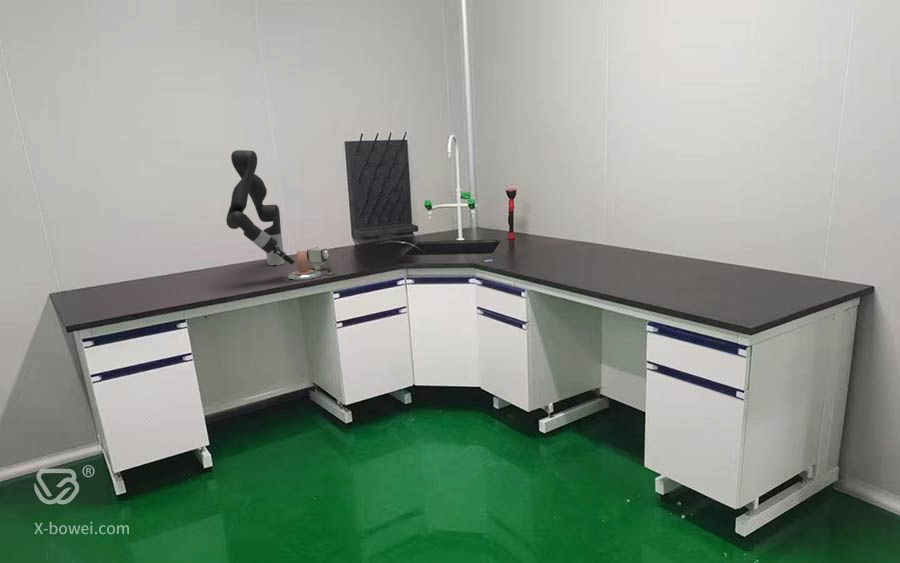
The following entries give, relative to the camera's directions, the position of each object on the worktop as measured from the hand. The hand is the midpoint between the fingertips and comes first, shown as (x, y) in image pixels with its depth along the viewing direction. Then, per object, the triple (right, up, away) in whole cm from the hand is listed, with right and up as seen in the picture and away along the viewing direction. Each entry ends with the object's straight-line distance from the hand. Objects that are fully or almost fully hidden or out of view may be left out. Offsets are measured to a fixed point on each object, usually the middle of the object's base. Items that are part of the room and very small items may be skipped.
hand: (291, 261), depth 285 cm
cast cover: (+5, -6, +4) cm, 9 cm away
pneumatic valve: (+10, -4, +19) cm, 22 cm away
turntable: (+5, -7, +4) cm, 10 cm away
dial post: (+18, -6, +7) cm, 20 cm away
